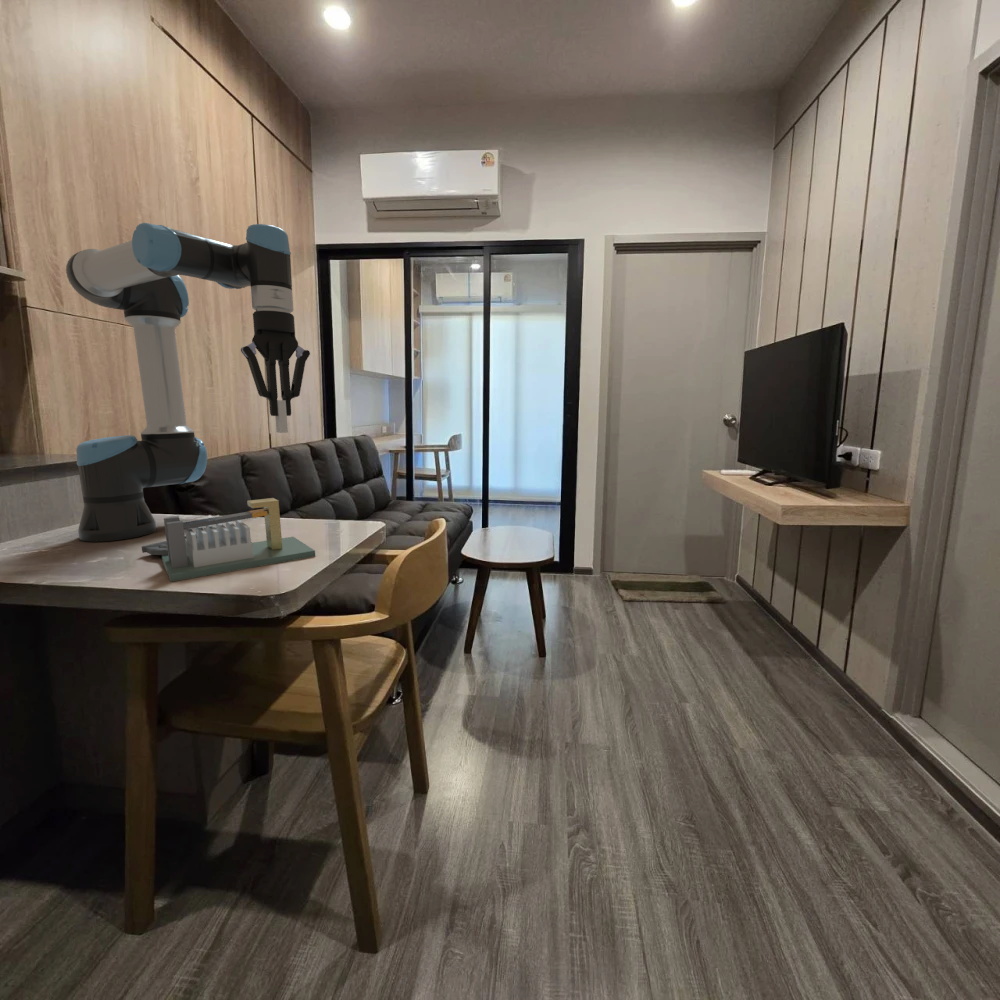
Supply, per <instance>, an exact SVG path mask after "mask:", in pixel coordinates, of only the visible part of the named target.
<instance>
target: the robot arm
mask: <svg viewBox="0 0 1000 1000" xmlns="http://www.w3.org/2000/svg"><path fill="white" fill-rule="evenodd" d="M245 240H246V242H244V243H242V244H238V245H234V244H229V243H227V242H222V241H219V240H214V239H211V238H207V237H203V236H199V235H197V234H192V233H188V232H185V231H183V230H182V231H181V230H177V229H174V228H170V227H168V226H165V225H163V224H153V223H148V222H142V223H139V224H138V225H136V228H135V229H134V230H133V233H132V237H131V240H128V241H125V242H123V243H120V244H117V245H113V246H110V247H108V248H104V249H101V250H100V249H96V248H87V249H82V250H81V251H78V252H75V253H74V254H73V255H71V256H70V258H69V259H68V261H67V263H66V267H65V272H66V277H67V279H68V282H69V284H70V285H71V287H72V288H73V290H75V292H77V293H78V294H79V295H80V296H81V297H82V298H84V299H85V300H87V301H89V302H91V303H92V304H94V305H97V306H101V307H103V308H107V309H108V308H109V309H113V310H121V311H123V314H124V320H125V321H126V322H127V323H128V324H129V325H131V327H132V328H133V334H134V340H135V341H134V342H135V347H136V348H135V349H136V356H137V363H138V369H139V370H138V371H139V377H140V384H141V386H140V387H141V393H142V399H143V406H144V414H145V422H146V427H145V428H144V429H143V430H142V431H141V432H140V438H141V440H138V439H137V437H136V436H135V435H131V434H129V435H119V436H118V435H117V436H109V437H108V436H107V437H100V438H95V439H90V440H86V441H83V442H81V443H79V444H78V445H77V446H76V450H75V451H76V463H75V464H76V465H77V467H78V468H77V469H78V474H79V482H80V486H81V488H80V489H81V492H82V493H81V496H82V501H83V509H82V512H81V513H82V514H81V517H80V521H79V525H78V529H77V532H78V539H79V540H80V541H81V542H95V543H96V542H113V541H123V540H126V539H127V540H128V539H133V538H139V537H144V536H147V535H149V534H153V533H155V532H156V531H157V524H156V523H157V522H156V520H155V518H154V516H153V514H152V512H151V511H150V508H149V507H148V505H147V503H146V502H145V501H146V500H145V498H144V489H145V488H152V487H153V488H155V487H161V486H169V485H183V484H185V483H193V482H195V481H197V480H199V479H200V478H201V477H202V476H203V474H204V473H205V471H206V468H207V466H208V465H207V463H208V451H207V447H206V446H205V443H204V442H203V440H202V439H200V438H198V437H196V436H195V431H194V430H193V429H192V428H190V426H189V425H188V424H187V419H186V411H185V410H186V409H185V402H184V393H183V386H182V377H181V370H180V363H179V362H180V361H179V354H178V346H177V338H176V336H177V335H176V329H177V327H178V326H180V324H181V323H182V322H181V318H183V317H185V316H186V315H187V314H188V310H189V308H188V306H189V305H190V304H189V303H190V300H189V299H190V298H189V294H188V290H187V286H186V284H185V282H184V280H183V278H181V276H186V277H190V278H194V279H195V278H196V279H199V280H200V279H201V280H204V281H205V280H206V281H209V282H210V281H211V282H214V283H217V284H218V285H219V286H221V287H223V288H225V289H231V290H232V289H236V290H240V289H244V288H245V289H246V288H247V287H250V294H251V295H250V296H251V306H252V309H253V310H254V312H253V313H252V321H253V333H254V335H253V337H252V339H251V343H249V344H248V345H246V346H242V347H241V348H240V352H241V354H242V355H243V356H244V358H245V359H246V361H247V363H248V366H249V369H250V372H251V375H252V379H253V380H254V385H255V387H256V391H257V393H258V396H259V397H261V398H262V397H263V398H265V399H267V400H268V403H269V414H270V416H271V417H274V418H275V428H276V429H275V430H276V431H275V432H276V433H279V434H283V433H284V434H285V433H286V434H287V433H289V430H288V429H289V427H288V417H291V415H292V403H291V400H292V399H295V398H297V397H299V396H300V394H301V389H302V385H303V384H302V383H303V379H304V372H305V367H306V361H308V358H309V357H310V355H311V352H310V350H308V349H304V348H303V347H301V346H300V345H299V341H298V340H297V338H296V328H295V326H296V325H295V316H294V315H293V314H292V313H293V312H294V299H293V298H294V297H293V282H292V281H293V280H292V261H291V254H292V253H291V250H290V243H289V236H288V234H287V232H286V231H285V230H284V229H282V228H280V227H277V226H275V225H272V224H271V225H270V224H265V223H255V224H254V223H253V224H250V225H249V226H248V227H247V228H246V237H245ZM257 351H258V353H259V354H260V355H261V357H262V358H263V359H264V364H265V365H264V366H265V373H266V383H265V379H264V376H263V373H262V371H261V367H260V364H259V361H258V359H257V356H256V354H257ZM294 353H295V357H296V360H295V365H294V371H293V375H292V381H291V379H290V378H291V377H290V359H291V358H292V356H293V354H294ZM276 364H278V367H279V369H278V370H279V383H280V394H281V396H280V397H281V399H278V397H279V395H278V394H279V393H278V382H277V369H276ZM287 416H288V417H287Z"/></svg>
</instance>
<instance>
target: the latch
mask: <svg viewBox="0 0 1000 1000" xmlns="http://www.w3.org/2000/svg"><path fill="white" fill-rule="evenodd" d="M279 503H280V500H279V499H276V498H274V497H270V498H268V497H267V498H261V499H252V500H251V499H250V500H247V507H249V508H251V509H259V508H260V509H261V508H263V509H264V510H266V511H267V514H268V515H267V516H264V525H265V534H266V535H265V536H266V538H265V539H266V541H267V546H268V547H269V548H270V549H271V550H276V549H282V538H283V537H282V527H281V526H282V525H281V514H280V504H279Z"/></svg>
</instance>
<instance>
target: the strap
mask: <svg viewBox="0 0 1000 1000" xmlns="http://www.w3.org/2000/svg"><path fill="white" fill-rule="evenodd" d="M267 515H268V514H267V511H266V510H264V508H260V509H259V508H258V509H254V510H248V511H245V512H238V513H232V514H225V515H221V516H214V517H207V518H203V519H196V520H189V521H185V522H183V528H184V531H185V530H186V529H196V528H197V527H202V528H204V527H206V526H208V525H212V526H213V525H216V524H220V523H221V524H226V522H236V521H237V520H240V521H243V520H246V519H254V518H261V517H265V516H267Z"/></svg>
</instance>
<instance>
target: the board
mask: <svg viewBox="0 0 1000 1000" xmlns="http://www.w3.org/2000/svg"><path fill="white" fill-rule="evenodd" d="M163 522H164V523H163V525H164V532H165V541H167V549H168V556H162V555H161V560H162V564H163V567H164V569H165V572H166V573H167V576H168V577H169V581H170V582H176V581H177V582H178V581H183V580H189V579H195V578H200V577H205V576H211V575H216V574H222V573H228V572H234V571H235V572H236V571H240V570H246V569H250V568H252V569H253V568H256V567H262V566H263V567H264V566H268V565H274V564H280V563H285V562H290V561H297V560H300V559H301V560H302V559H306V558H313V557H312V556H314V557H316V550H315V549H314V548H312V547H310V546H308V545H307V543H304V542H303V541H301V540H300V539H298V538H296V537H294V536H290V537H288V536H287V537H282V549H276V550H271V549H270V548H269V547H268V546H267V540H261V541H256V542H252V539H251V538H252V537H251V528H250V527H249V526H248V525H247V524H246V523H244V522H243V520H237V521H235V524H234V523H233V521H231V522H225V525H224V524H223V523H220V524H215V528H216V529H217V530H216V529H215V528H214V526H213V525H208V526H205V528H206V531H207V533H206V531H205V530H204V527H197V528H195V531H193V528H191V529H186V530H184V528H183V523H184V522H183V520H180V516H179V515H177V516H170V517H163ZM196 535H197V539H196ZM185 536H186V541H185ZM185 542H186V545H185ZM186 551H187V553H186Z"/></svg>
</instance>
